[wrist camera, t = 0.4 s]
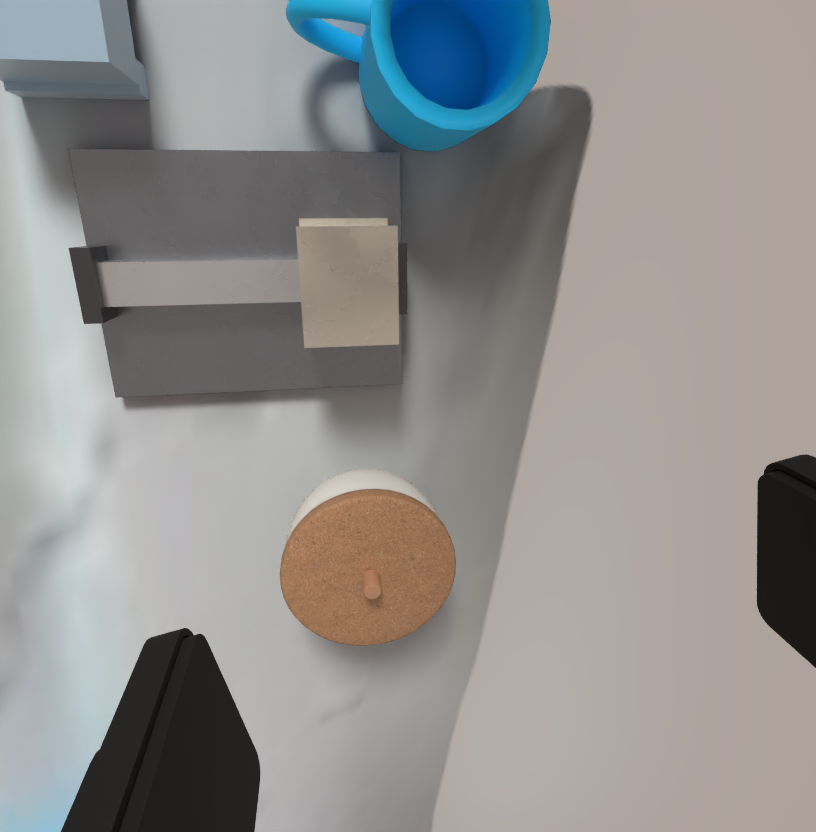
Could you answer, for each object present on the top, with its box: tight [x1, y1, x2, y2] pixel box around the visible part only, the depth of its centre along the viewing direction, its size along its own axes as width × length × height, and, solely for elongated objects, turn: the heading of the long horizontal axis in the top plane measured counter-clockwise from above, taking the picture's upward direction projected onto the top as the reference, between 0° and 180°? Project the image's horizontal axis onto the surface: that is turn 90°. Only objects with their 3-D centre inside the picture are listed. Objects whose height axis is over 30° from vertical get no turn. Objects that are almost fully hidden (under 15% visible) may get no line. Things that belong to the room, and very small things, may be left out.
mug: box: [286, 0, 551, 151], centre depth 28 cm, size 12×8×8 cm
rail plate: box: [68, 149, 407, 397], centre depth 31 cm, size 14×18×7 cm
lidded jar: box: [280, 468, 456, 645], centre depth 36 cm, size 11×11×9 cm
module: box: [0, 0, 149, 100], centre depth 26 cm, size 7×6×6 cm
